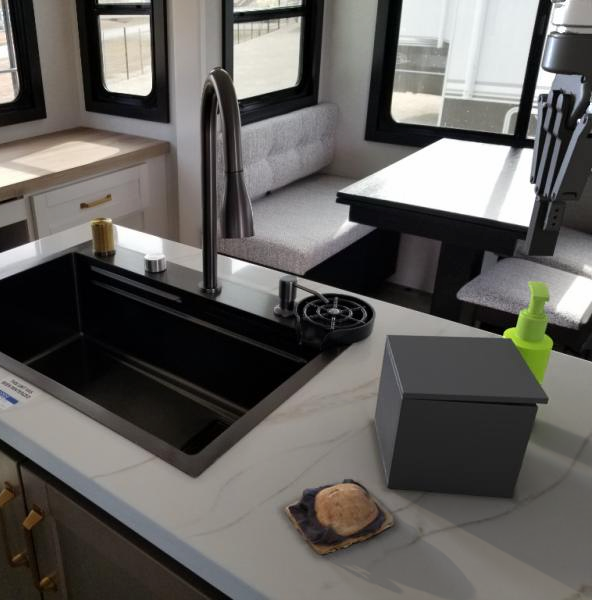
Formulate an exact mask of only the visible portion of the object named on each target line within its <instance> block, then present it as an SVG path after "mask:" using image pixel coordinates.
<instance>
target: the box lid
mask: <svg viewBox="0 0 592 600" xmlns="http://www.w3.org/2000/svg"><path fill="white" fill-rule="evenodd" d="M385 336H386V337H385V342H386V341H387V345H388V348H389V352H390V356H391V359H392V363H393V366H394V370H395V373H396V377H397V380H398V384H399V388H400V391H401V395H402V398H409V399H434V400H459V401H484V402H509V403H533V404H537V405H548V403H549V401H550V400H549V396H548V395H547V393H546V391H545V390H544V388H543V387H542V385H540V384H539V382H538V380H537V379H536V377H535V376H534V374H533V372H532V371H531V369H530V368H529V366H528V364H527V363H526V361H525V360H524V358H523V356H522V355H521V353H520V352H519V350H518V348H517V347H516V345H515V344H514V342H513V340H512V339H511V338H503V337H484V336H483V337H482V336H481V337H480V336H445V335H443V336H442V335H408V334H406V335H405V334H386V335H385Z"/></svg>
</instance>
